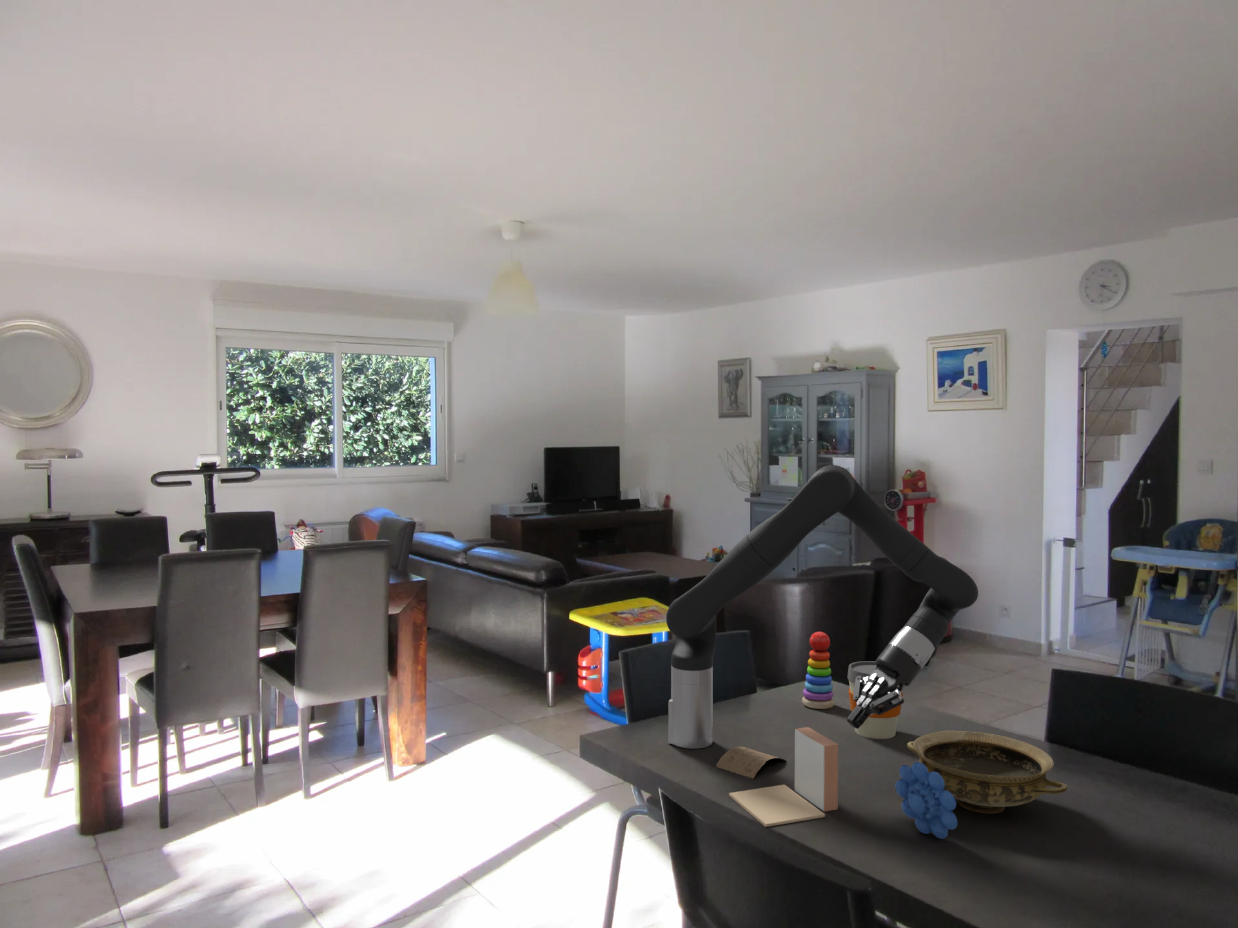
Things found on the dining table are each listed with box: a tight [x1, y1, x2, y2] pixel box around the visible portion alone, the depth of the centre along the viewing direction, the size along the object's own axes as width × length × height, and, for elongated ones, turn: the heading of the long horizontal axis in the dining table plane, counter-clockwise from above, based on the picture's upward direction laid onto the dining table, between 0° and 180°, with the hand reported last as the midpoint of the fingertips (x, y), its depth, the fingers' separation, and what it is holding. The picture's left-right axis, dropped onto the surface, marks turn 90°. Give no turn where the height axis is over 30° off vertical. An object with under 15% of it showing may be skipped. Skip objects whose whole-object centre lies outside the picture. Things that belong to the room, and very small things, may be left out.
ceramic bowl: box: [906, 730, 1068, 814], centre depth 158 cm, size 30×24×10 cm
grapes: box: [894, 761, 958, 840], centre depth 145 cm, size 12×7×12 cm, turn 37°
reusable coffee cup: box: [847, 660, 904, 740], centre depth 197 cm, size 13×13×15 cm
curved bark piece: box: [715, 746, 787, 779], centre depth 178 cm, size 14×10×3 cm
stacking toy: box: [801, 631, 835, 710], centre depth 217 cm, size 8×8×19 cm
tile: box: [794, 726, 839, 813], centre depth 160 cm, size 3×10×12 cm, turn 20°
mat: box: [728, 784, 826, 828], centre depth 157 cm, size 12×14×1 cm
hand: (851, 724), depth 163 cm, fingers closed
